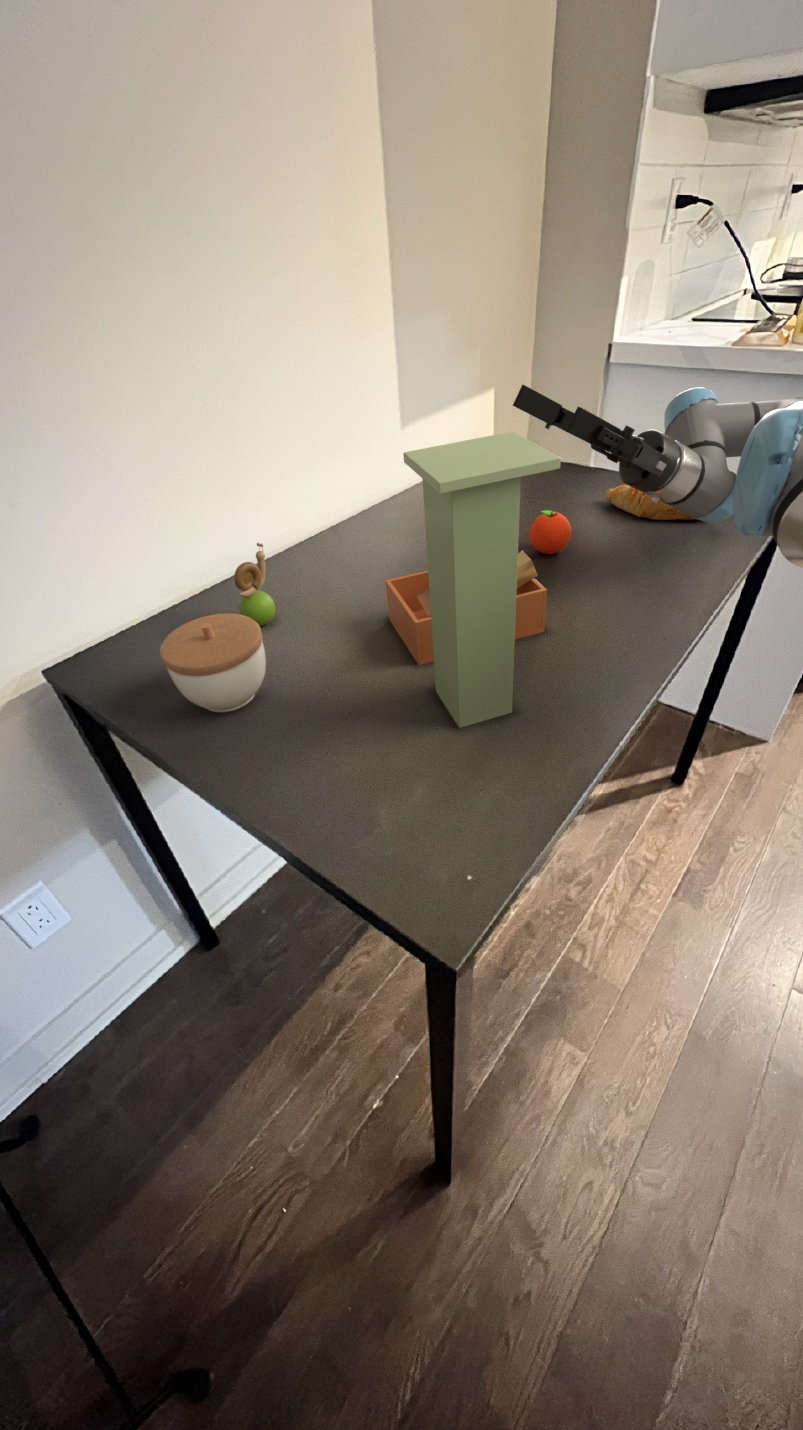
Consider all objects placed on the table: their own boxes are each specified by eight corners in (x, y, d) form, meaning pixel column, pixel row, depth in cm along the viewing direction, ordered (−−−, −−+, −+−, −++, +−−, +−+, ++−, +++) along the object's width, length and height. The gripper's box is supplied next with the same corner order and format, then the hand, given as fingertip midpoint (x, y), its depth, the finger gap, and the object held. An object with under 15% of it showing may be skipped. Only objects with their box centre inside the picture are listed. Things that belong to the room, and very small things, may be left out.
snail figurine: (290, 616, 99) (273, 545, 91) (260, 636, 95) (241, 563, 88) (266, 608, 102) (248, 539, 94) (237, 627, 98) (216, 556, 90)
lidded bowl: (284, 708, 81) (265, 636, 74) (186, 737, 78) (156, 665, 71) (266, 659, 90) (247, 591, 83) (178, 683, 87) (151, 614, 80)
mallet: (525, 562, 91) (513, 535, 87) (542, 580, 86) (530, 552, 83) (431, 621, 93) (416, 596, 90) (443, 641, 88) (427, 616, 85)
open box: (503, 591, 99) (504, 552, 95) (544, 632, 89) (547, 589, 85) (389, 620, 96) (385, 580, 91) (418, 665, 86) (415, 622, 81)
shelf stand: (505, 667, 84) (512, 431, 65) (542, 710, 76) (561, 457, 57) (422, 690, 81) (403, 452, 62) (450, 736, 74) (439, 482, 55)
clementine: (517, 547, 111) (519, 508, 106) (550, 537, 113) (553, 499, 108) (543, 564, 105) (546, 524, 101) (577, 554, 107) (582, 513, 103)
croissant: (596, 524, 123) (592, 495, 117) (617, 485, 126) (613, 455, 119) (709, 542, 112) (711, 512, 106) (729, 499, 115) (732, 467, 108)
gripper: (702, 523, 79) (582, 464, 69) (594, 467, 98) (487, 414, 88) (740, 465, 76) (620, 395, 66) (620, 418, 95) (512, 358, 84)
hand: (544, 406), depth 77 cm, fingers open, 13 cm apart
